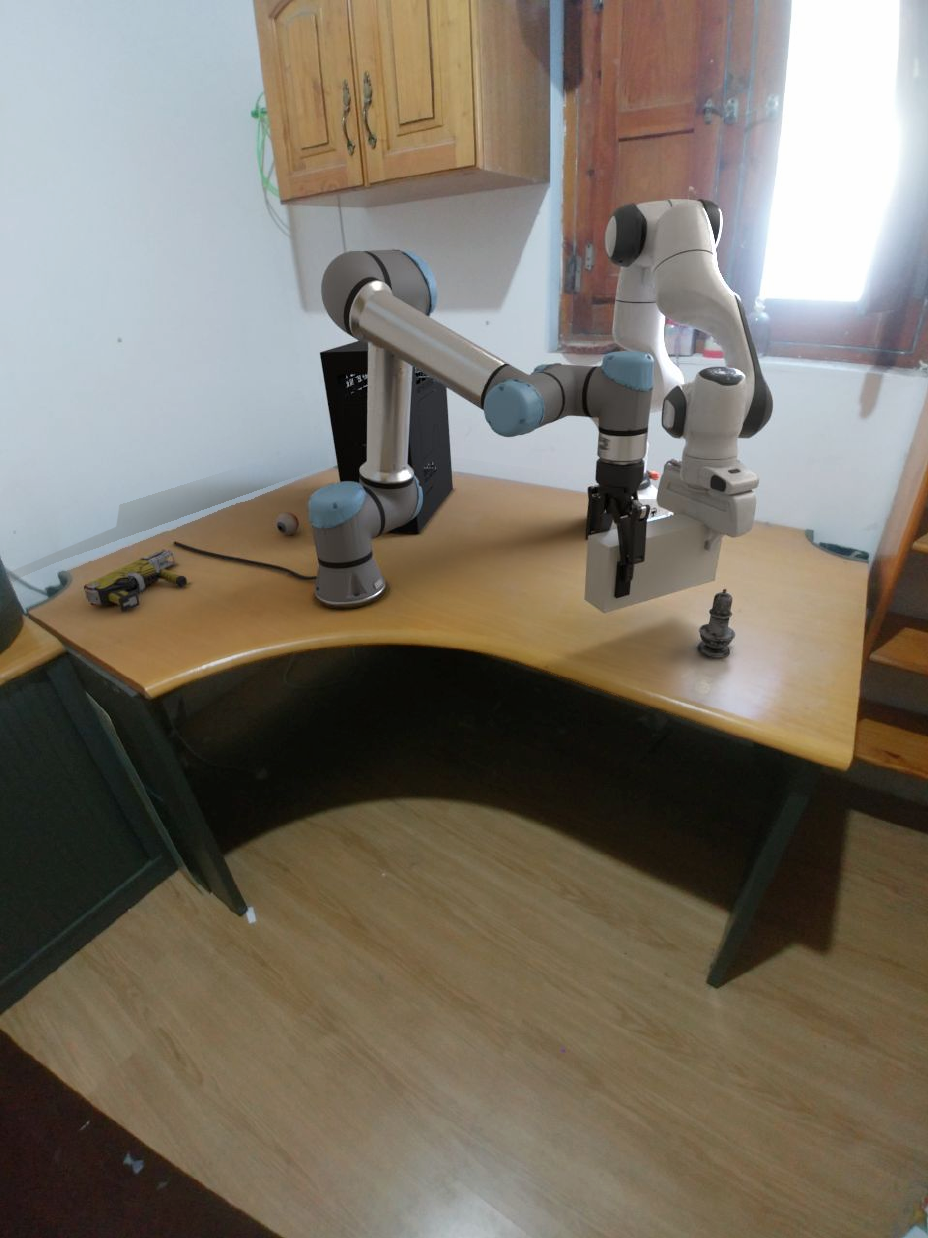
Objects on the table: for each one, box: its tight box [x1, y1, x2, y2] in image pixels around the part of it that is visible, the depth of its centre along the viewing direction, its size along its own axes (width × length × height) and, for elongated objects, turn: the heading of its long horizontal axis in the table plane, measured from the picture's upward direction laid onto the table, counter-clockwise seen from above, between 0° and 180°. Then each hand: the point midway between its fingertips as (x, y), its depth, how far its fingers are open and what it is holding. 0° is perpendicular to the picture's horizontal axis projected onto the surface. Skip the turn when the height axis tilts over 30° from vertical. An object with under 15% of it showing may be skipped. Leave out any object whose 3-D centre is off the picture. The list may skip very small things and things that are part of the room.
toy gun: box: [83, 548, 188, 613], centre depth 139 cm, size 5×24×15 cm
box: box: [583, 513, 723, 614], centre depth 109 cm, size 25×6×12 cm, turn 115°
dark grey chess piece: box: [697, 588, 736, 659], centre depth 103 cm, size 6×6×12 cm
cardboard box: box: [319, 340, 454, 535], centre depth 167 cm, size 38×20×45 cm, turn 167°
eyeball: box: [275, 511, 300, 536], centre depth 163 cm, size 6×6×6 cm
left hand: (610, 587), depth 107 cm, fingers closed on box, 6 cm apart
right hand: (695, 543), depth 111 cm, fingers closed on box, 6 cm apart
